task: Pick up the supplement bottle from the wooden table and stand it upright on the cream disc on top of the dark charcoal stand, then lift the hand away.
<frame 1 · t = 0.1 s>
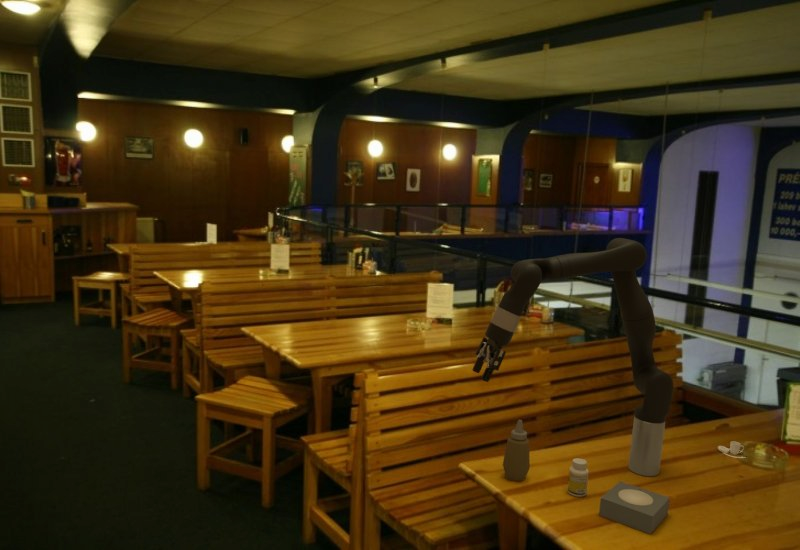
hand: (479, 376, 200), 31 cm above the table, tool tilted 20°, fingers open, 8 cm apart
teacup and saucer: (728, 451, 238), on the table
charcoal stand: (633, 514, 188), on the table
supplement bottle: (576, 493, 199), on the table
squeeze bottle: (515, 477, 207), on the table
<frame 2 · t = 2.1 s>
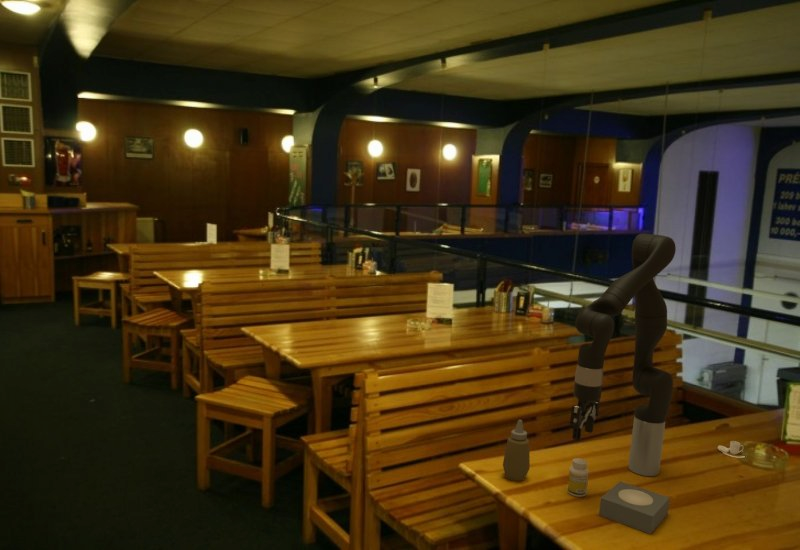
hand: (582, 435, 196), 17 cm above the table, tool pointing down, fingers open, 8 cm apart
nothing on the table moved.
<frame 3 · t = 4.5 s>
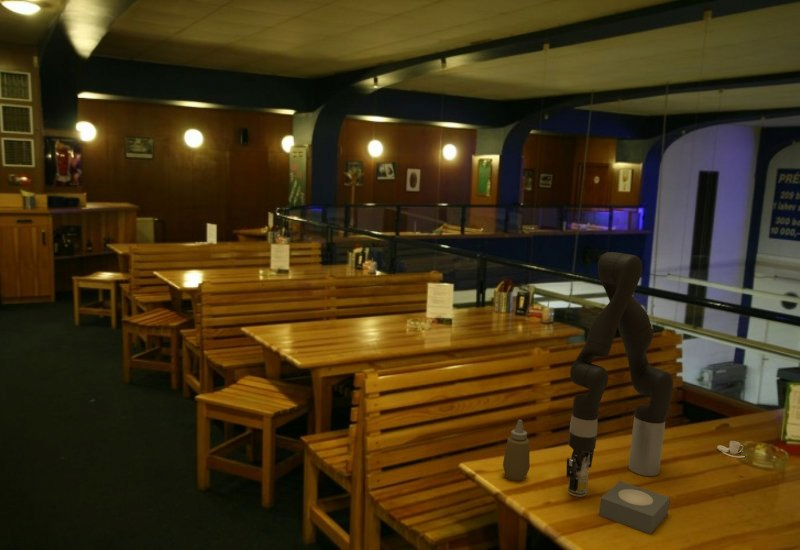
hand: (577, 486, 199), 2 cm above the table, tool pointing down, fingers closed on supplement bottle, 5 cm apart
supplement bottle: (576, 493, 199), on the table, touching gripper
everything else where it was.
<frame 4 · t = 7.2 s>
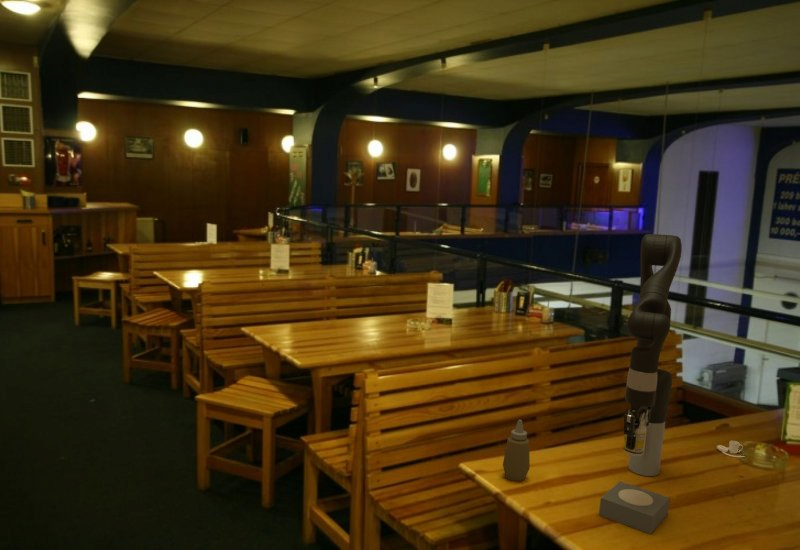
hand: (634, 445, 186), 20 cm above the table, tool pointing down, fingers closed on supplement bottle, 5 cm apart
supplement bottle: (633, 453, 186), point 17 cm above the table, touching gripper
everything else where it was.
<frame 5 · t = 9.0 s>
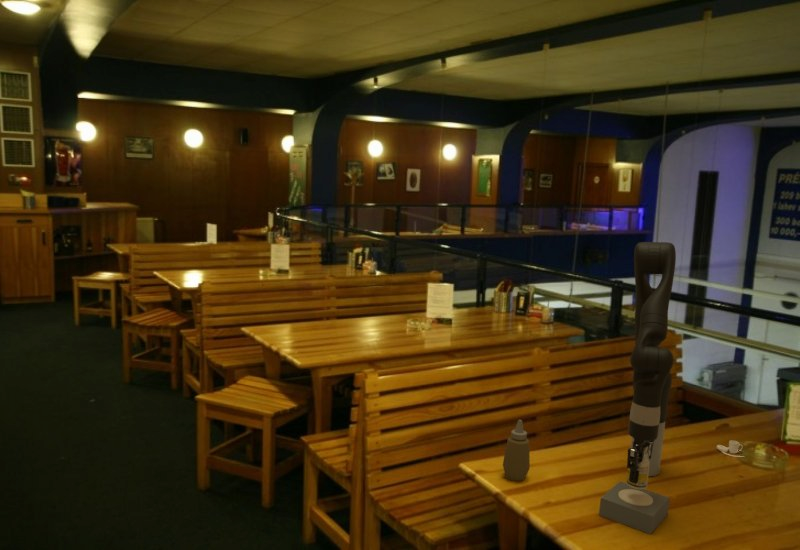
hand: (637, 478, 186), 11 cm above the table, tool pointing down, fingers closed on supplement bottle, 5 cm apart
supplement bottle: (636, 486, 187), point 8 cm above the table, touching gripper
everything else where it was.
when the fingers open (8 cm above the table, at t = 10.4 s): supplement bottle drops 1 cm, resting on charcoal stand.
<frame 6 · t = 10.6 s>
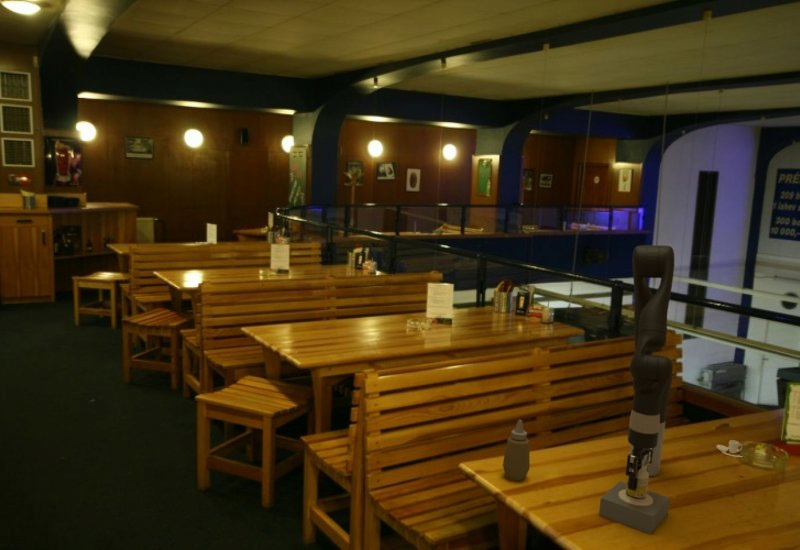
hand: (637, 484, 187), 9 cm above the table, tool pointing down, fingers open, 7 cm apart
supplement bottle: (635, 497, 187), point 5 cm above the table, touching charcoal stand
everything else where it was.
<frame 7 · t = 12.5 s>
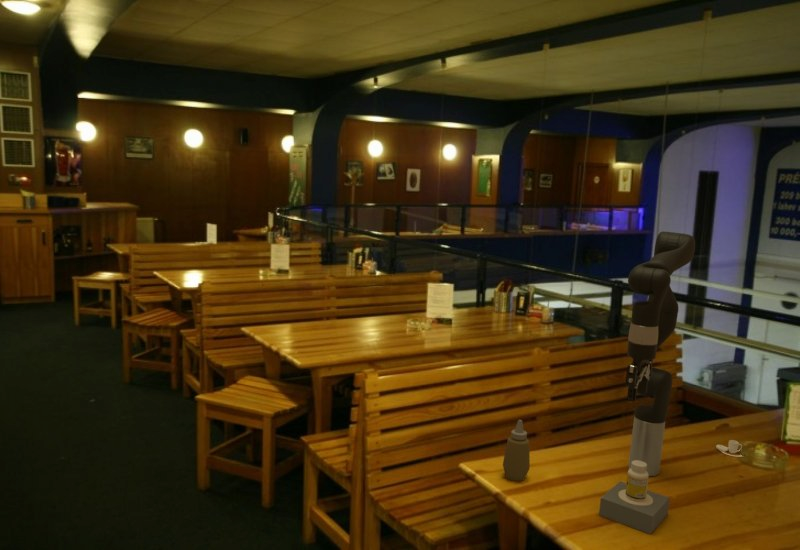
hand: (636, 396, 190), 31 cm above the table, tool pointing down, fingers open, 8 cm apart
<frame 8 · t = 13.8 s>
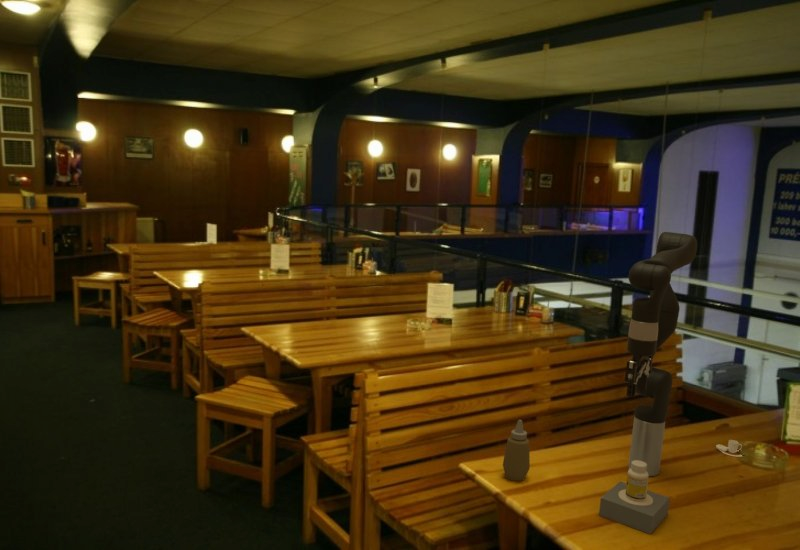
hand: (636, 393, 191), 32 cm above the table, tool pointing down, fingers open, 8 cm apart
at the end: supplement bottle inside the target area on the charcoal stand (0.1 cm from its centre), point 5.1 cm above the charcoal stand's base; supplement bottle tilted 0°; the gripper is holding nothing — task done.
